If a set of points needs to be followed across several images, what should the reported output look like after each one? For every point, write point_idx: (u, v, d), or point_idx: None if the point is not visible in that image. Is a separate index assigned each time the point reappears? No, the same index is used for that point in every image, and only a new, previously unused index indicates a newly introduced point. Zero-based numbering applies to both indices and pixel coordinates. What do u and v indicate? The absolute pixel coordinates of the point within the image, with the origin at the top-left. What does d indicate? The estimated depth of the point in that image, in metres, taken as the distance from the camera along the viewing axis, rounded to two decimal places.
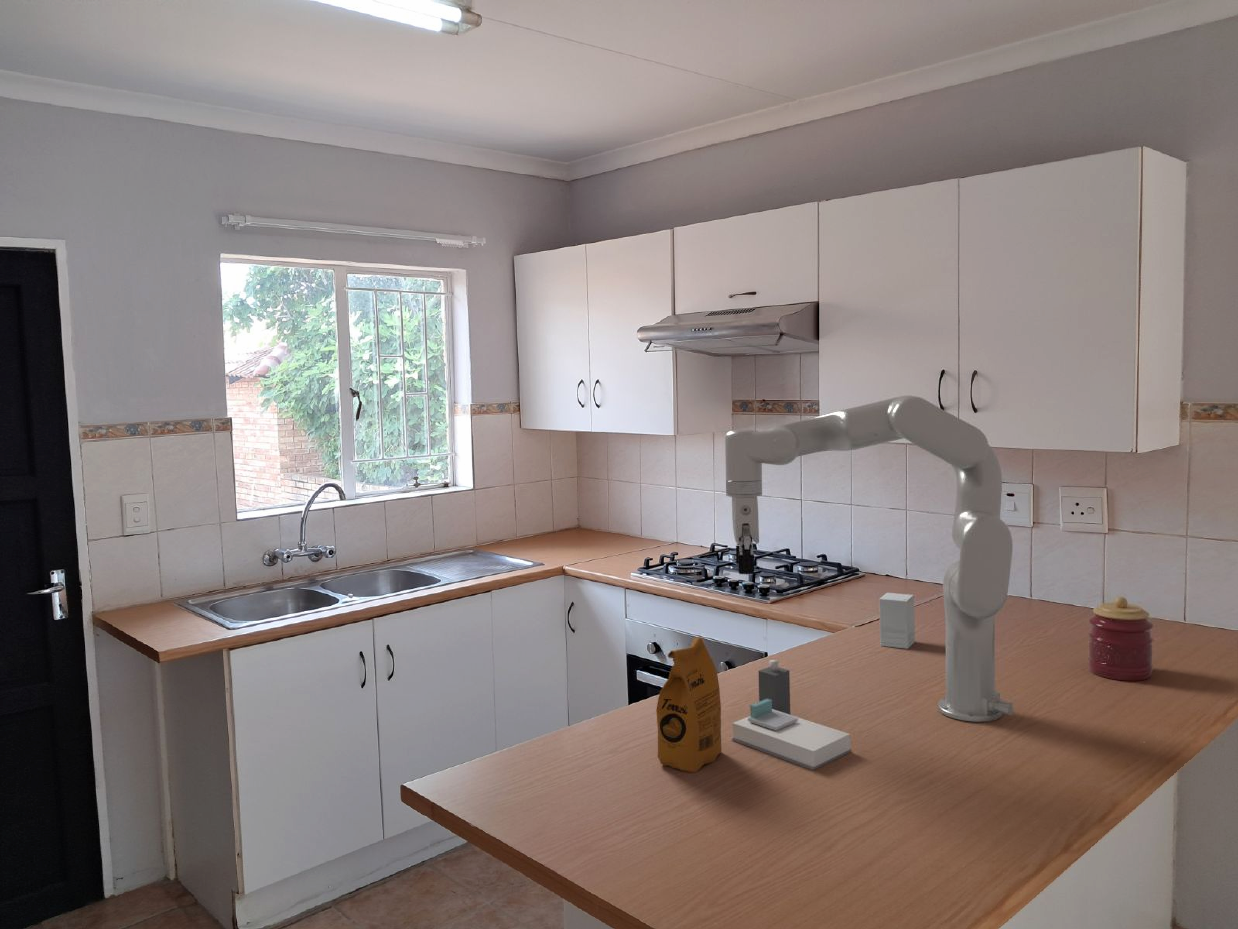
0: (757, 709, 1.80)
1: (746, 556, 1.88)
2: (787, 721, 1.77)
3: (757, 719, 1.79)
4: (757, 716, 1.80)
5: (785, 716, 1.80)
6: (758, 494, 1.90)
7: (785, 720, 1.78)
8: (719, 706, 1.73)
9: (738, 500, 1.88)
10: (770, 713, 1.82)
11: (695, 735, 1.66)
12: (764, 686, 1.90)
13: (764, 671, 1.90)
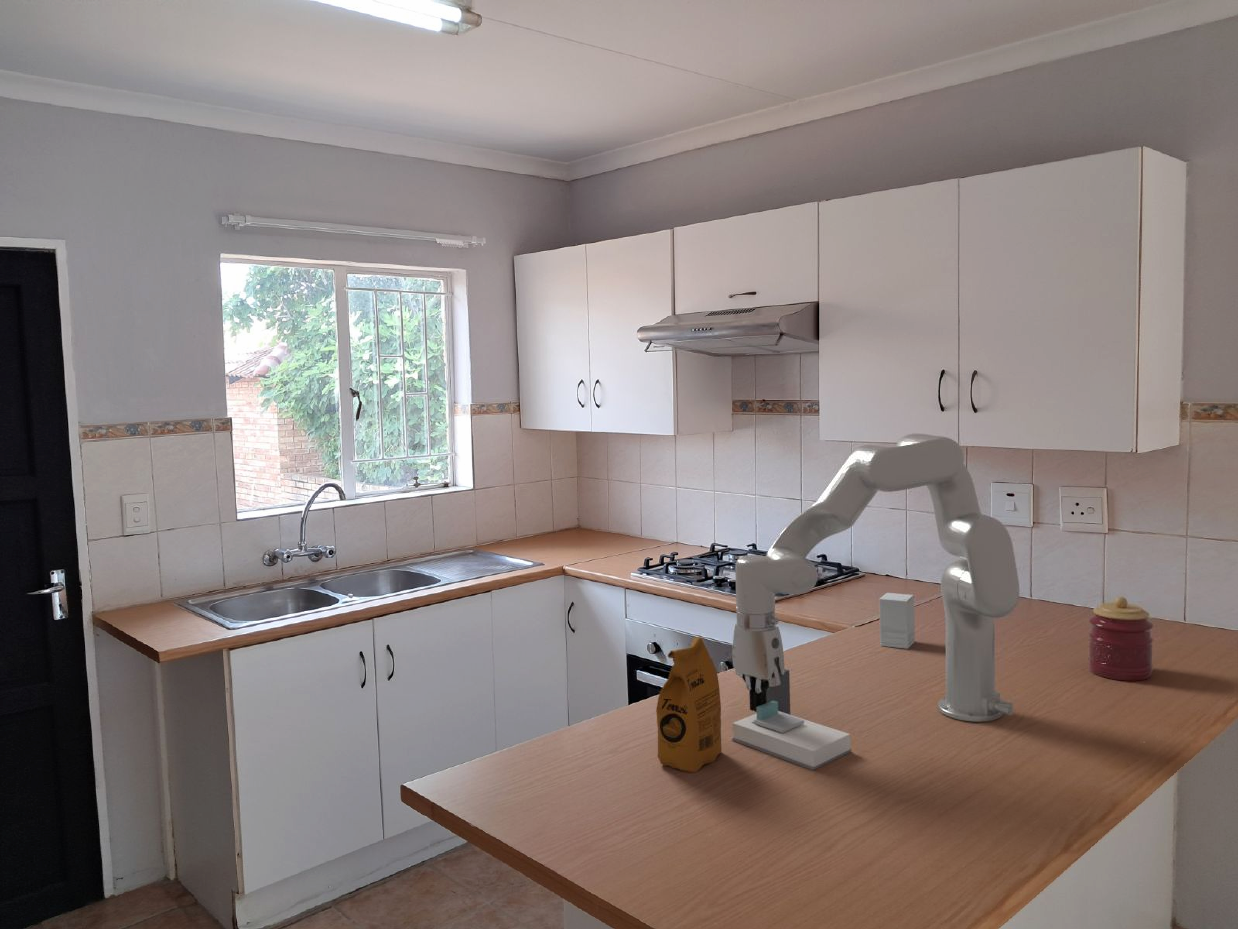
0: (763, 711, 1.79)
1: (763, 692, 1.80)
2: (793, 723, 1.76)
3: (763, 721, 1.78)
4: (763, 718, 1.79)
5: (792, 718, 1.79)
6: None
7: (791, 722, 1.77)
8: (719, 706, 1.73)
9: (768, 634, 1.76)
10: (776, 715, 1.80)
11: (695, 735, 1.66)
12: None
13: None
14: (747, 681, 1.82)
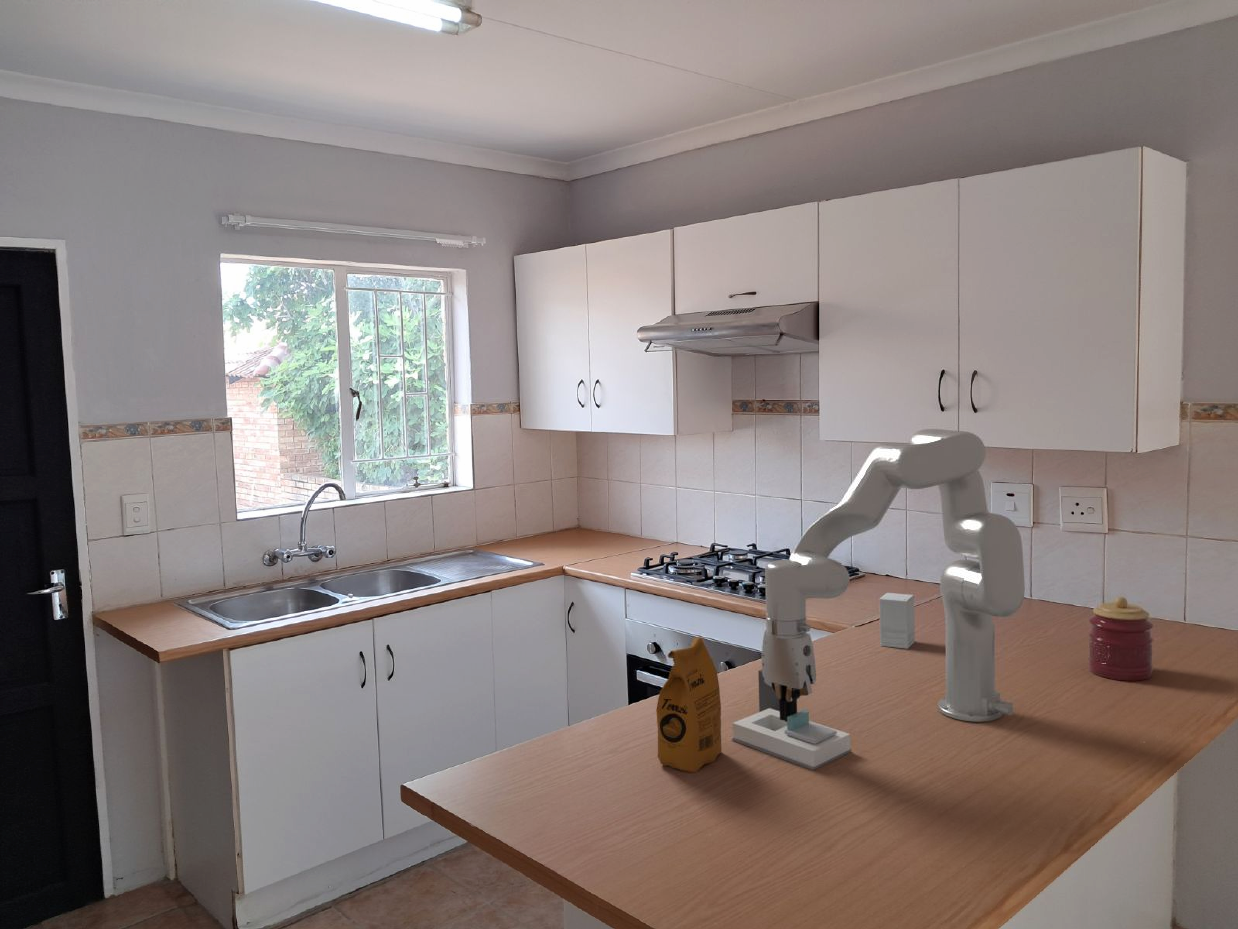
0: (794, 721, 1.73)
1: (794, 701, 1.75)
2: (826, 734, 1.70)
3: (794, 732, 1.72)
4: (794, 728, 1.73)
5: (824, 728, 1.73)
6: None
7: (824, 733, 1.71)
8: (719, 706, 1.73)
9: (799, 641, 1.71)
10: (807, 725, 1.75)
11: (695, 735, 1.66)
12: (764, 686, 1.90)
13: None
14: (777, 690, 1.76)
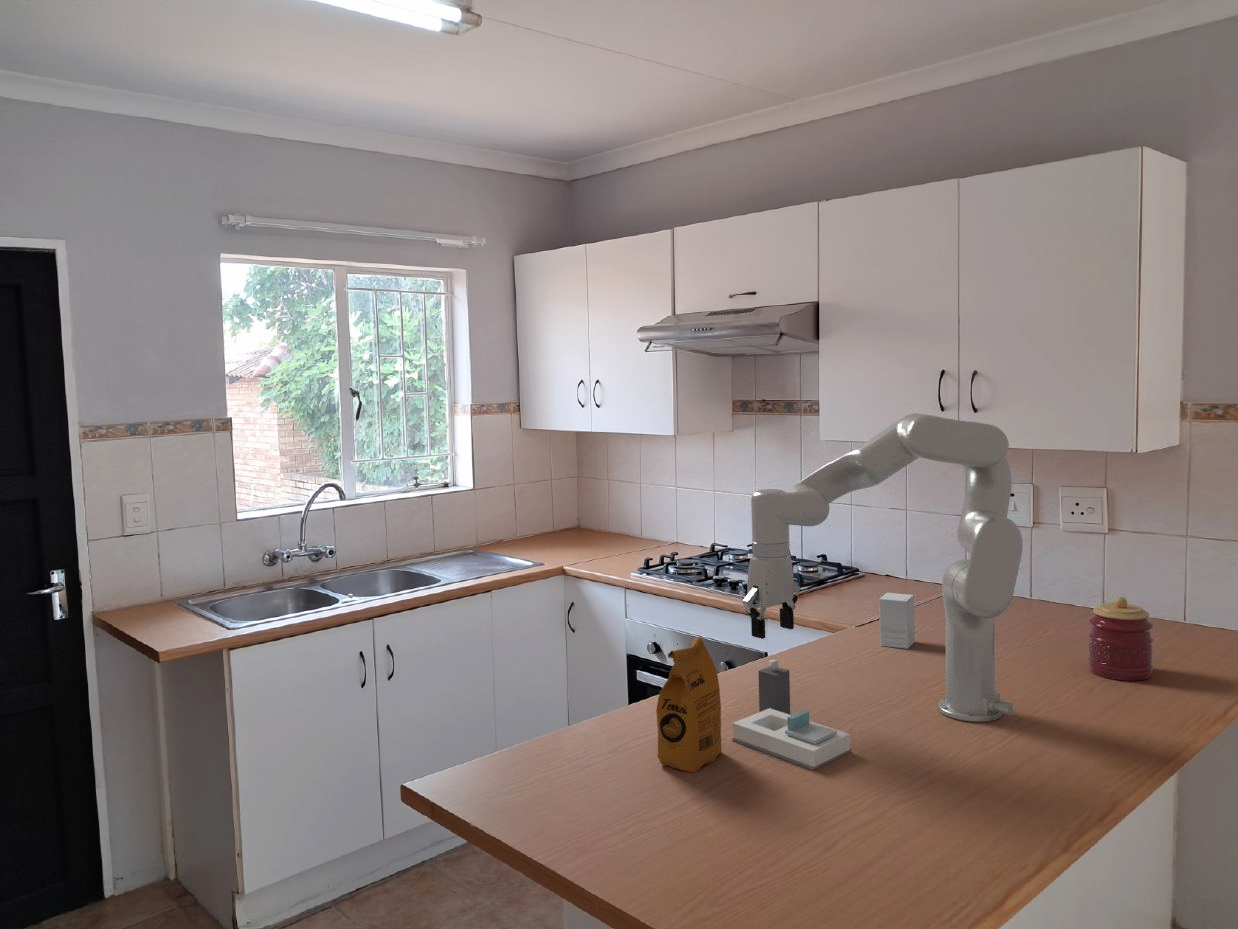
0: (795, 721, 1.73)
1: None
2: (826, 734, 1.70)
3: (795, 732, 1.72)
4: (794, 729, 1.73)
5: (824, 728, 1.73)
6: None
7: (824, 733, 1.71)
8: (719, 706, 1.73)
9: None
10: (808, 725, 1.75)
11: (695, 735, 1.66)
12: (764, 686, 1.90)
13: (764, 671, 1.90)
14: (762, 611, 1.85)
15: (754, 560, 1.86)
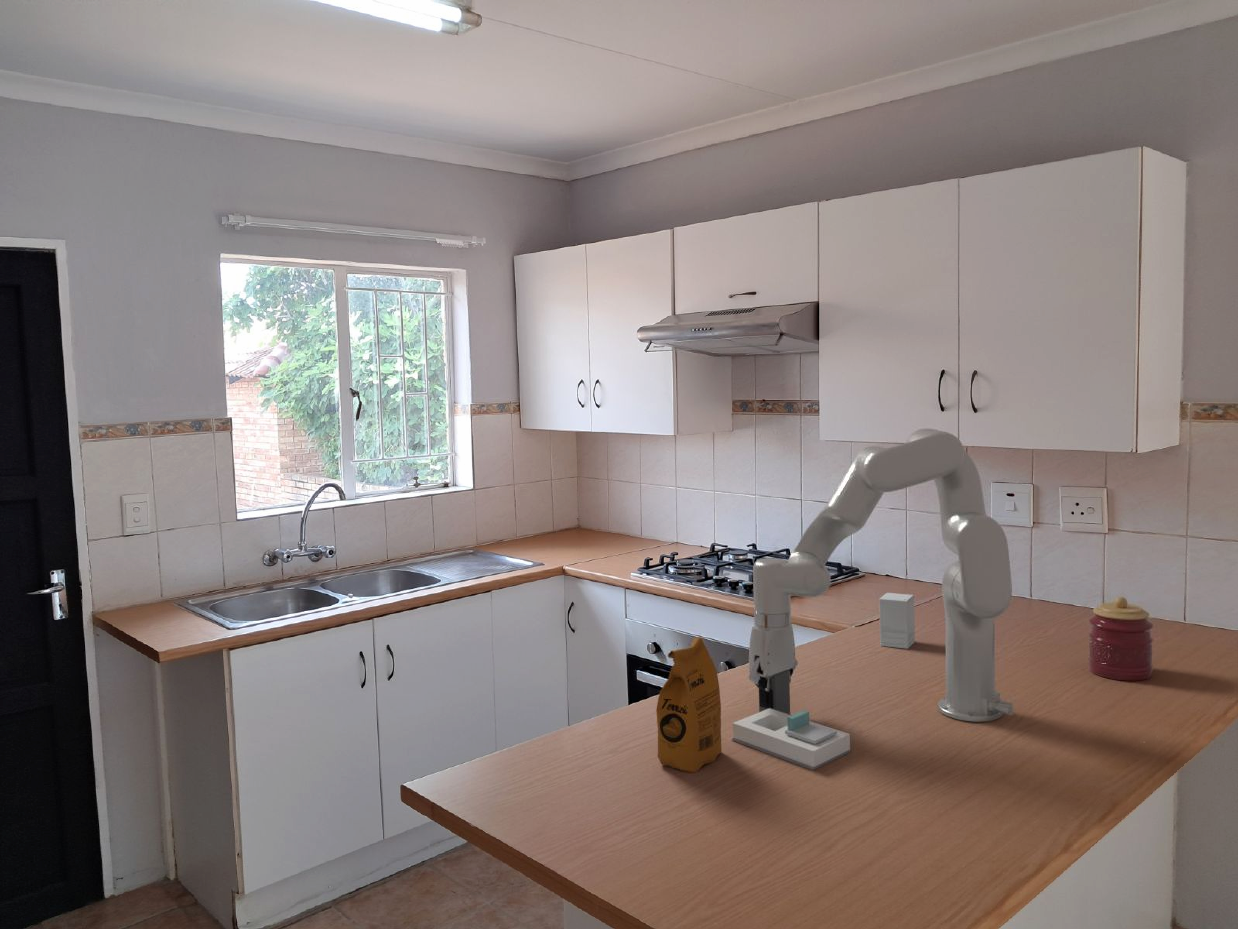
0: (795, 721, 1.73)
1: None
2: (826, 734, 1.70)
3: (795, 732, 1.72)
4: (794, 729, 1.73)
5: (824, 728, 1.73)
6: None
7: (824, 733, 1.71)
8: (719, 706, 1.73)
9: None
10: (808, 725, 1.75)
11: (695, 735, 1.66)
12: None
13: None
14: (769, 682, 1.88)
15: (756, 630, 1.87)
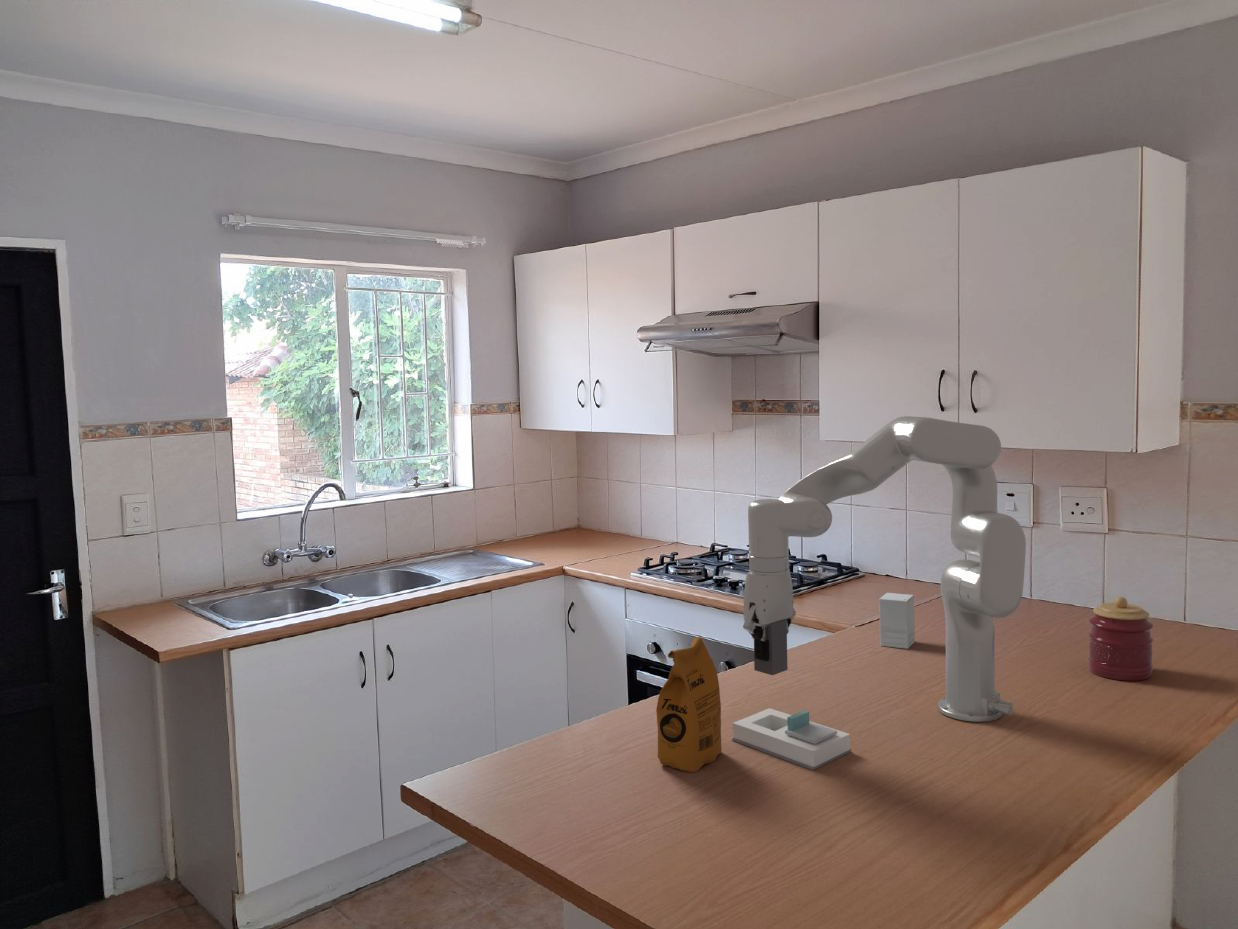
0: (795, 721, 1.73)
1: None
2: (826, 734, 1.70)
3: (795, 732, 1.72)
4: (794, 729, 1.73)
5: (824, 728, 1.73)
6: None
7: (824, 733, 1.71)
8: (719, 706, 1.73)
9: None
10: (808, 725, 1.75)
11: (695, 735, 1.66)
12: None
13: None
14: (765, 632, 1.74)
15: (751, 575, 1.74)
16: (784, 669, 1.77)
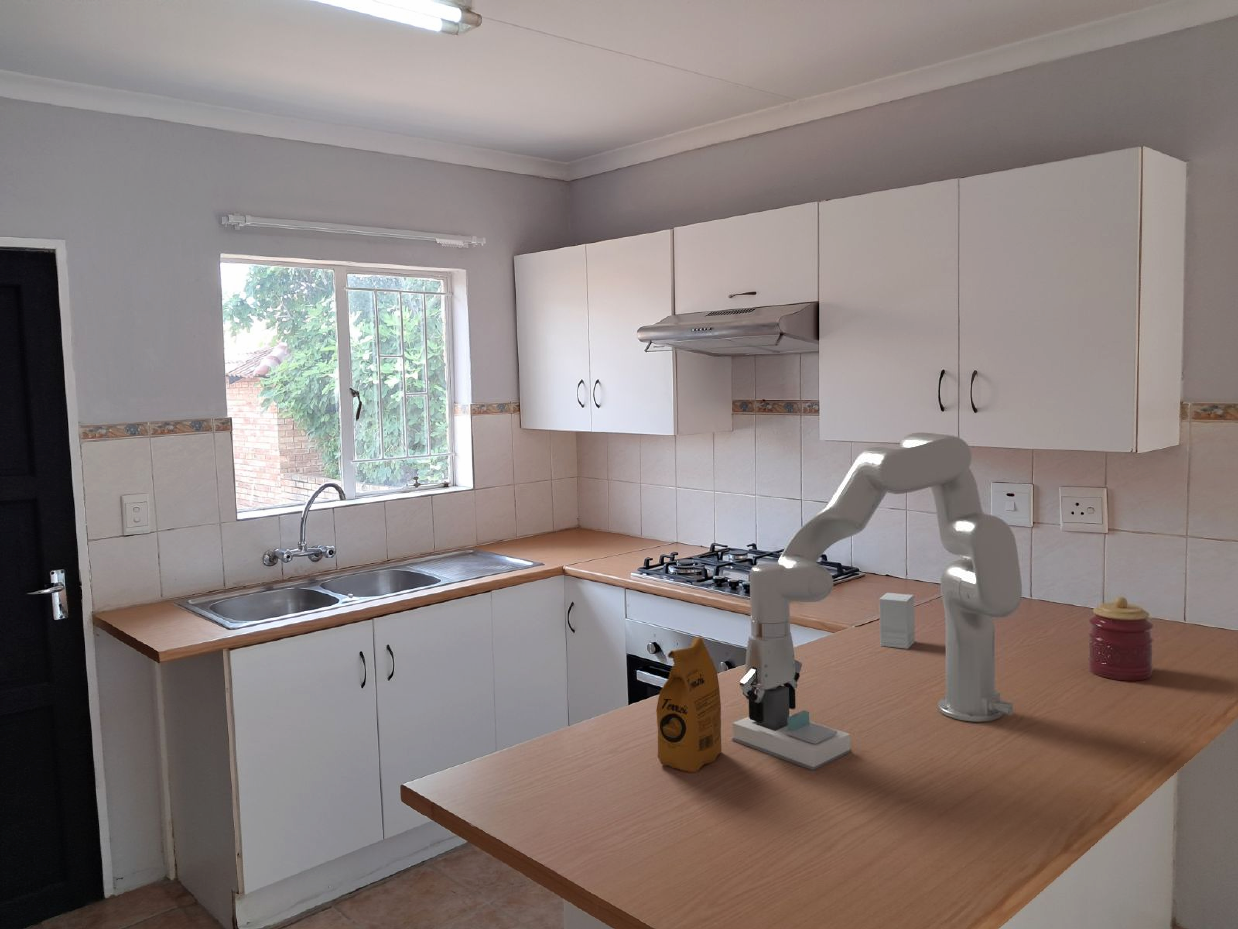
0: (795, 721, 1.73)
1: None
2: (826, 734, 1.70)
3: (795, 732, 1.72)
4: (794, 729, 1.73)
5: (824, 728, 1.73)
6: None
7: (824, 733, 1.71)
8: (719, 706, 1.73)
9: None
10: (808, 725, 1.75)
11: (695, 735, 1.66)
12: None
13: None
14: (760, 694, 1.74)
15: (753, 640, 1.75)
16: None
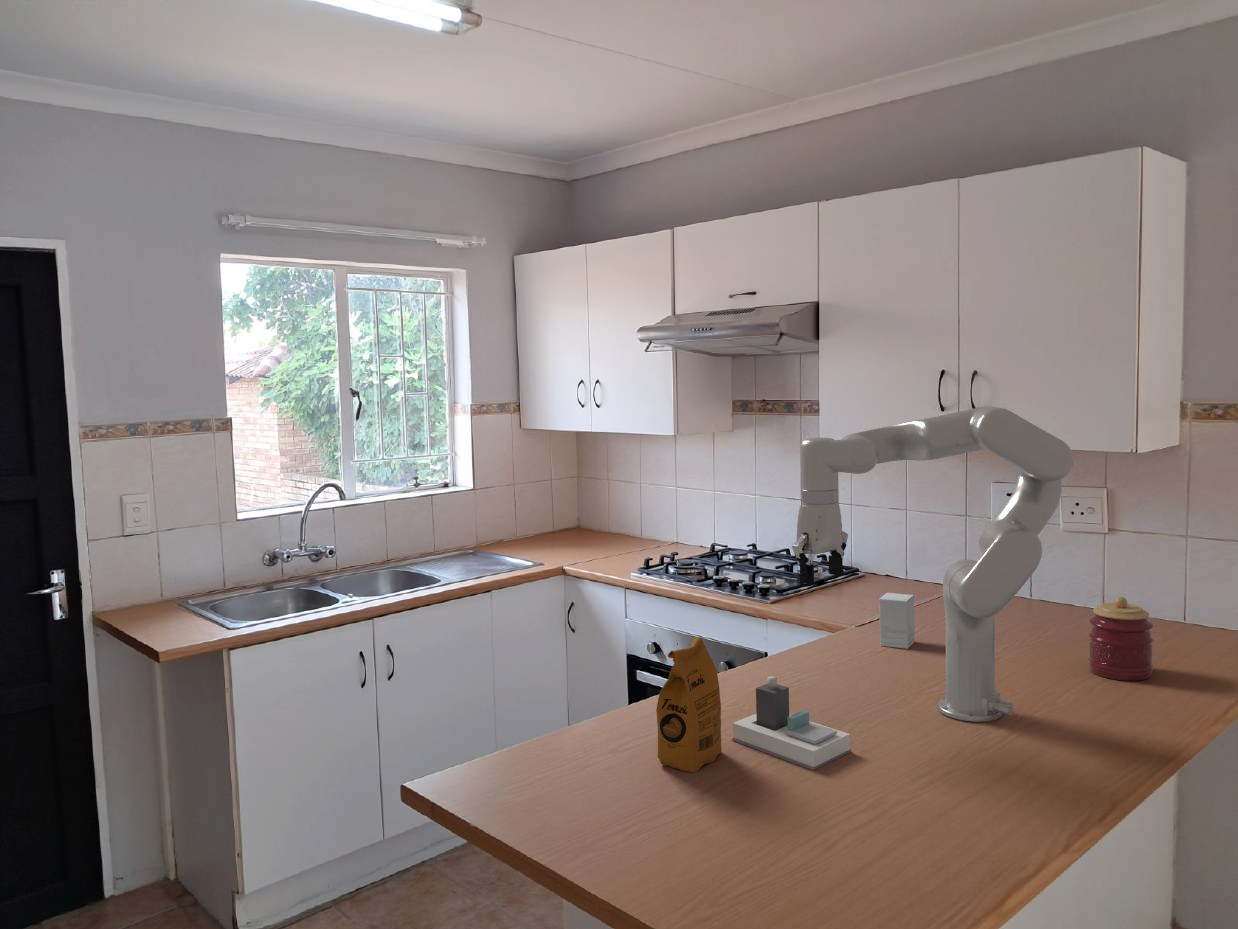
0: (795, 721, 1.73)
1: None
2: (826, 734, 1.70)
3: (795, 732, 1.72)
4: (794, 729, 1.73)
5: (824, 728, 1.73)
6: None
7: (824, 733, 1.71)
8: (719, 706, 1.73)
9: None
10: (808, 725, 1.75)
11: (695, 735, 1.66)
12: (762, 704, 1.78)
13: (762, 688, 1.78)
14: (811, 557, 1.87)
15: (804, 507, 1.88)
16: None
